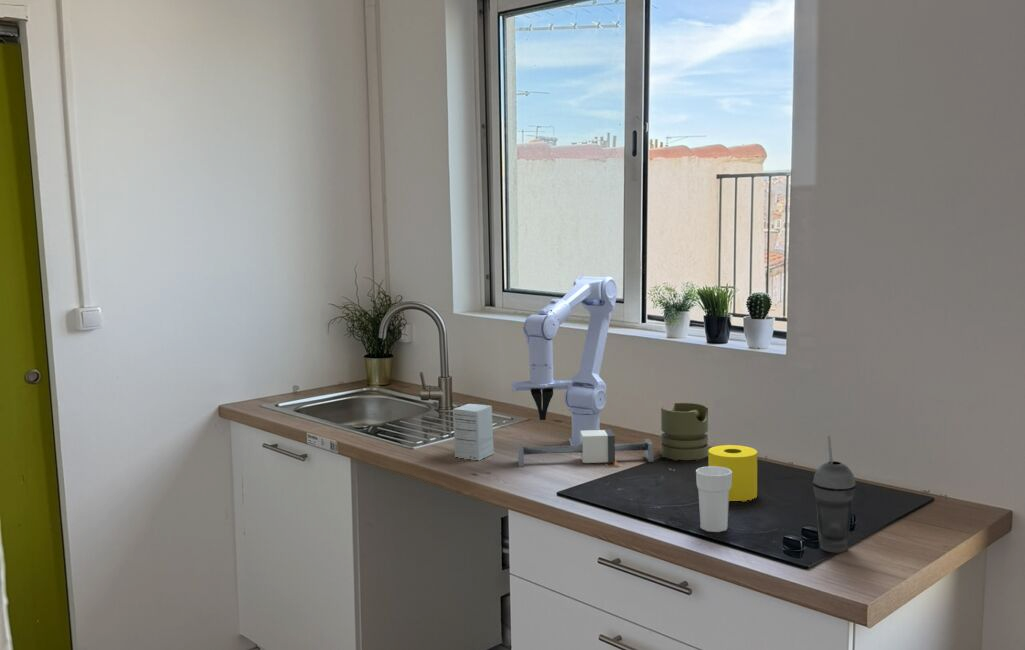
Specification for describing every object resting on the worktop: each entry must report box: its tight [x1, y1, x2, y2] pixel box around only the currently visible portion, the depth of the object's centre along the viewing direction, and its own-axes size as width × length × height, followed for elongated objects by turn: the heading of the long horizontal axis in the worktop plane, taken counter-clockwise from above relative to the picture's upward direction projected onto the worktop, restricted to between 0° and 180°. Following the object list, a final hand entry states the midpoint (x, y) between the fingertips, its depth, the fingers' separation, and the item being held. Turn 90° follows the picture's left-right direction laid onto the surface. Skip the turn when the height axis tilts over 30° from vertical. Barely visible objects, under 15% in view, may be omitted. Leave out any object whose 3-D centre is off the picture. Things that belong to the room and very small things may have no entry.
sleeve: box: [580, 429, 608, 464], centre depth 226 cm, size 6×6×6 cm
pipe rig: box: [517, 438, 654, 468], centre depth 226 cm, size 32×11×4 cm, turn 92°
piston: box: [660, 402, 709, 460], centre depth 229 cm, size 11×12×11 cm
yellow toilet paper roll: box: [707, 444, 758, 502], centre depth 196 cm, size 10×10×9 cm
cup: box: [695, 465, 732, 533], centre depth 176 cm, size 7×7×11 cm
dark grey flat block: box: [603, 428, 616, 463], centre depth 226 cm, size 2×7×6 cm, turn 2°
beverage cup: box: [812, 435, 857, 553], centre depth 163 cm, size 7×7×20 cm
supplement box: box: [452, 403, 495, 462], centre depth 233 cm, size 7×7×13 cm
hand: (542, 419), depth 226 cm, fingers closed
